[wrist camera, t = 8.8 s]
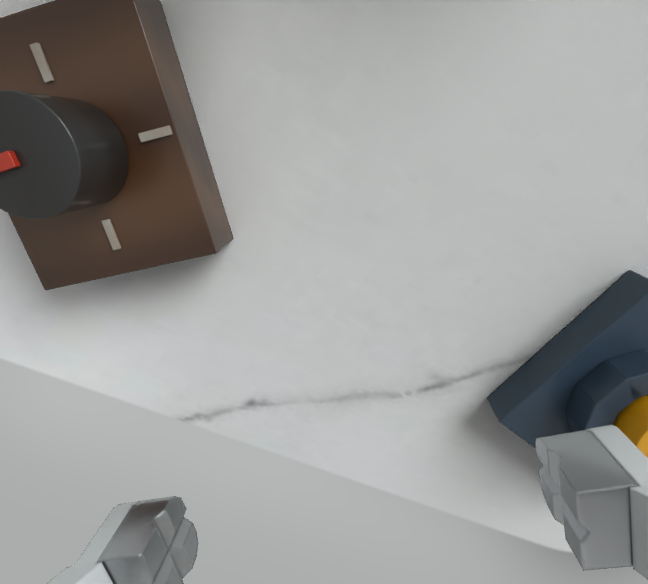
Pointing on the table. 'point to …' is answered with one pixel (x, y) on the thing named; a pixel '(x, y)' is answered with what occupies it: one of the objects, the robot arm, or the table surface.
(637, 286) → the button housing
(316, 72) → the table surface
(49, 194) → the dial
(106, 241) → the dial panel
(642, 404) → the trigger button
